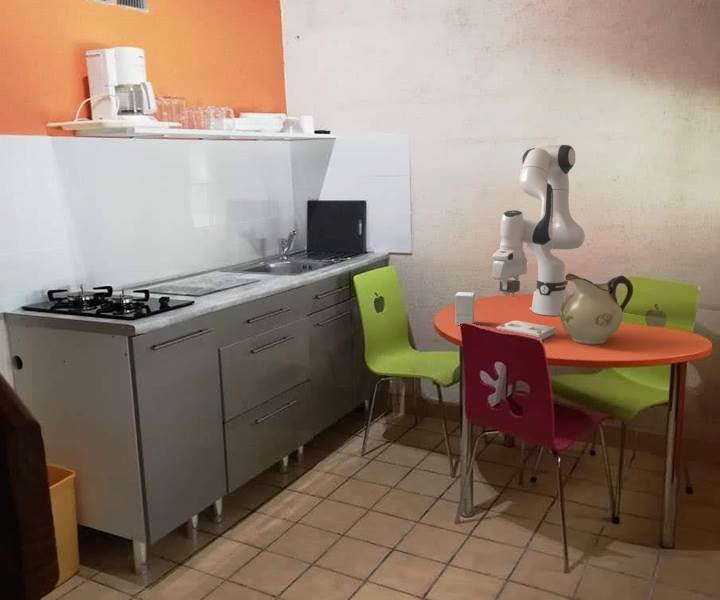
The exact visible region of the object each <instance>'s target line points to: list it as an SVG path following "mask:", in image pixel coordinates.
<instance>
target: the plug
mask: <svg viewBox="0 0 720 600" xmlns="http://www.w3.org/2000/svg"><path fill="white" fill-rule="evenodd" d="M507 285H509V286H508V289H507V290H503V285H502V282H501V280H499V288H498V289H499V292H503V297H507V296H510V295H511V297H514V298H515V293H517V292H520V290H521V289H520V288H521V286H520V285H521V281H520V280H518V281H516V280H513V279H510V278H508V281H507Z"/></svg>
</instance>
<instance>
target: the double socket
mask: <svg viewBox="0 0 720 600" xmlns="http://www.w3.org/2000/svg"><path fill="white" fill-rule="evenodd" d="M496 328H497V329H502V330H508V331H514V332H519V333H524V334H528V335H533V336H536V337H539V338H541V339H542V340H543V341H545V340H547V339H550V338H551V337H554V336H556V330H557V329H556V327H555V326H549V325H543V324H539V323H534V322H532V323H531V322H526V321H521V320H515V319H514V320H511V321H508V322H506V323H504V324H501V325H498V326H496Z"/></svg>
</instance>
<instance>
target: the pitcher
mask: <svg viewBox="0 0 720 600" xmlns="http://www.w3.org/2000/svg"><path fill="white" fill-rule="evenodd" d="M564 280H568V282H572V283H574V284H575V287H576V288H575V290H574V292H573V293H572V294H570V295H571V296H569V297H568V298H567V299H566V300H565V301H564V303H563V304H562V306H561V308H560V315H559V320H560V322H561V325H562V327H563V328H564V330H565V332H567V333H568V335H570V336H571V340H572V342H575V343H579V344H582V345H601V344H605V343H606V342H607V339H609V338H610V337H612V336H613V334H615V333H616V332H617V330H619V328H620V326H621V325H622V322H623V316H624V314H623V313H624V310H625V309H626V307H627V305H628V304H629V302H630V301H631V298H632V297H633V293H634V286H633V283H632V282H631V280H630V279H628V278H627V277H626V276H624V275H618V276H616V277H613V278H610V279H609V280H608V281H607V282H606V283H601V284H599V283H598V284H597V283H593V281H590V280H589V279H586V278H582V277H579V276H578V275H576V274H573V273H569V272H568V273H566V275H565V276H564ZM619 284H622V285H624V286H625V287H626V289H627V290H626V295H625V297H624V299H623V301H622V303H621V304H619V303H618V299H617V295H616V293H617V291H616V290H617V287H618V286H619Z"/></svg>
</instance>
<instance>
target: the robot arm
mask: <svg viewBox="0 0 720 600" xmlns="http://www.w3.org/2000/svg"><path fill="white" fill-rule="evenodd" d="M521 163H522V166H521V170H520V172H519V173H520V174H519V179H518V183H519V187H520V188H521V190H522V191H523V192H524V193H526V195H528V196H530V197H533V198H535V199H537V200H539V201H541V208H540V209H541V210H540V217H537V218H527V217H524V216H523V215H524V214H523V212H522V211H520V210H517V209H516V210H507V211H505V212H503V213H502V216H501V221H500V231H499V234H500V235H499V236H500V242H499V248H498V249H497V250H496V251H495V252H494V253H492V260H493V263H492V278H493V279H494V280H496V281H497V280H498V281H501V282H502V285H503V290H507V289H508V286H509V285H507V281H508V279H510V278H512V280H516V281H519V279H520V276H521V275H525V274H527V271H528V261H527V257H526V253H525V252H524V245H525V246H526V248H529V250H530V251H531V252H532V253H533V255H534V256H535V258H536V261H537V280H536V290H535V291H533V297H532V305H531V306H529V310H530V311H531V312H532V313H533V314H537V315H543V316H550V317H551V316H554V317H555V316H560V308H561V306H562V304H563V303H564V301H565V300H566V299H567V298H568V297H569V296H571V295H572V294H570V293H569V291H568V290H567V286H568V284H569V281H568V280H566V279H565V270H566V269H565V268H566V265H565V262H564V260H562V259H560V258H559V257H557V256H555V255H553V254H552V251H551V250H574V249H580V247H581V246H582V245H583V243H584V242H585V239H586V234H585V231H584V229H583V228H582V226H581V225H579V224H578V223H577V222H576V221H575V220H574V219H573V217H572V215H571V212H570V206H569V204H570V203H569V196H570V195H569V193H570V183H569V181H570V180H569V172H570V170H571V169H572V168H573V167H574V165H575V163H576V153H575V150H574V148H573V146H571V145H567V144H561V145H560V144H559V145H558V144H553V145H552V144H551V145H547V146H539V147H533V148H529V149H527V150H526V151H525V152H524V153H523V155H522V162H521ZM553 218H554V220H555V222H554V223H553Z"/></svg>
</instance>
